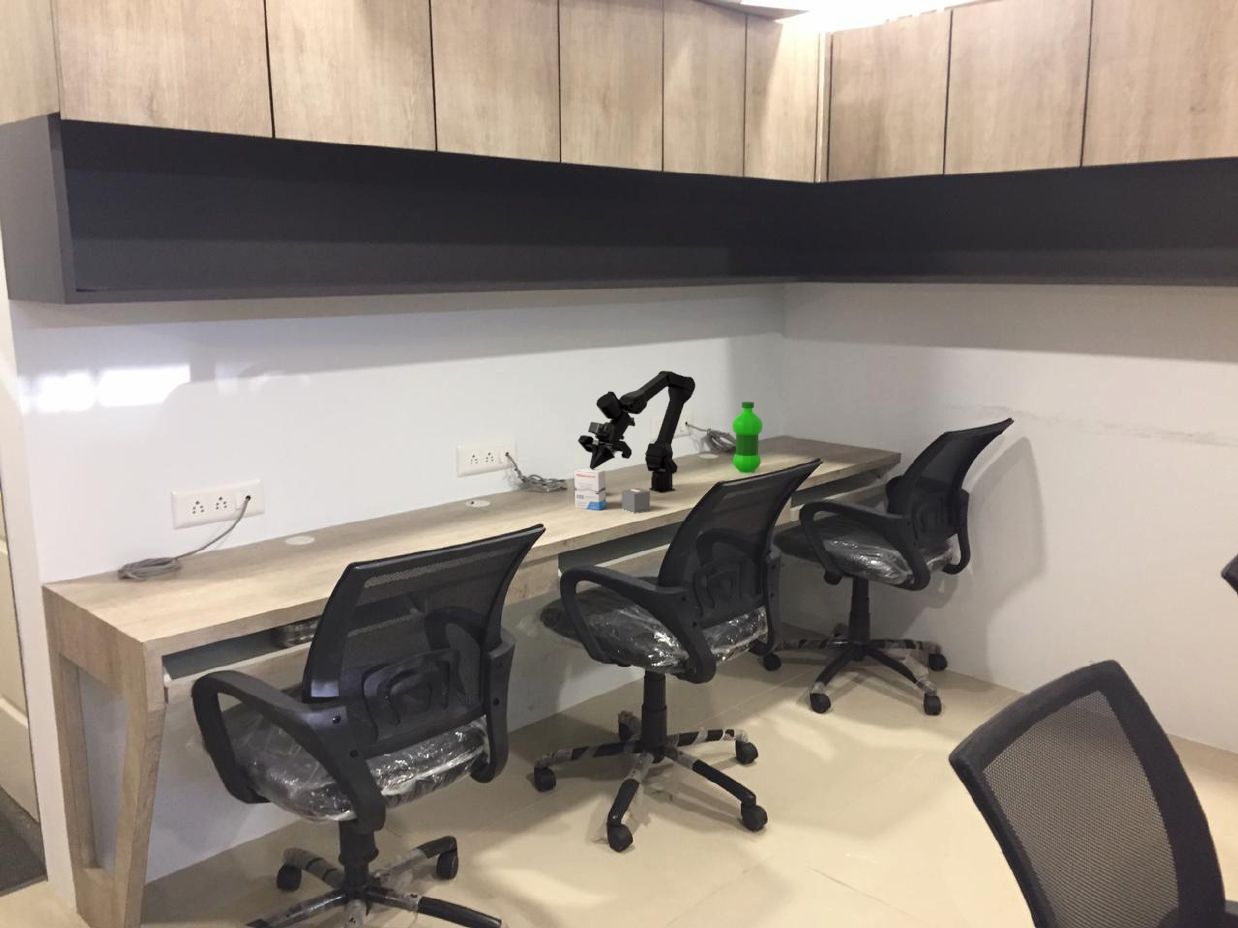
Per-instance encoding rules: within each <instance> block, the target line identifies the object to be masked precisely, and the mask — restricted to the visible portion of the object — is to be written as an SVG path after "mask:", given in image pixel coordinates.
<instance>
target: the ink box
mask: <svg viewBox="0 0 1238 928" xmlns="http://www.w3.org/2000/svg"><path fill="white" fill-rule="evenodd" d="M573 473H574V474H573V475H574V476H573V477H574V478H573V479H574V481H575V497H574V501H575V502H574V506H575V507H574V508H575V509H583V510H590V509H591V510H592V511H601V510H602V509H606V507H607V501H606V499H607V497H606V495H607V494H606V493H607V492H606V470H604V469H596V468H595V469H591V468H580V469H576V470H575V471H573Z"/></svg>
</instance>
